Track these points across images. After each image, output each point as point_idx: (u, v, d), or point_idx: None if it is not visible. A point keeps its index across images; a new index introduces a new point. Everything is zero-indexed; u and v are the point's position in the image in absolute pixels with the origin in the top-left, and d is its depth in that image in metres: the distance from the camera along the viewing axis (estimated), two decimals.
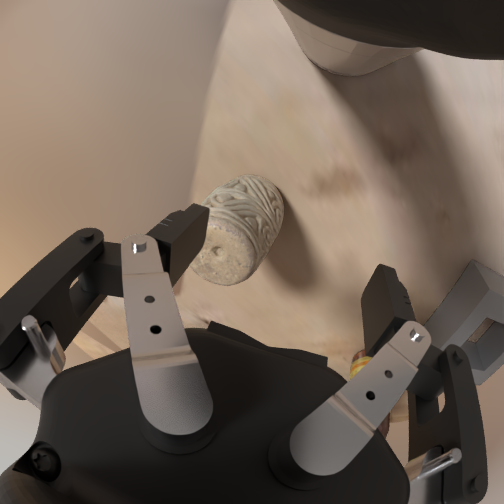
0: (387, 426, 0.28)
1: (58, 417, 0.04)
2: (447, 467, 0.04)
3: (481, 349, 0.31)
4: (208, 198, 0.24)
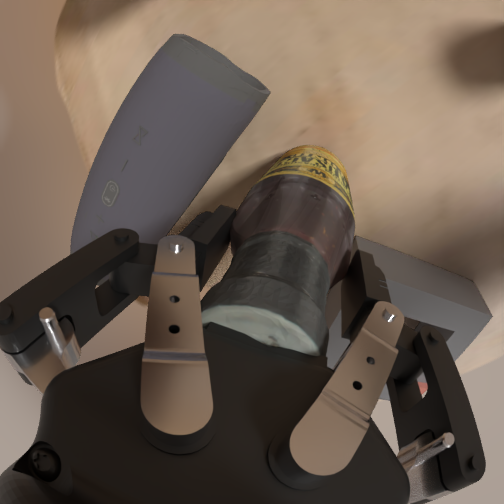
0: None
1: (55, 411, 0.04)
2: (441, 452, 0.04)
3: None
4: None
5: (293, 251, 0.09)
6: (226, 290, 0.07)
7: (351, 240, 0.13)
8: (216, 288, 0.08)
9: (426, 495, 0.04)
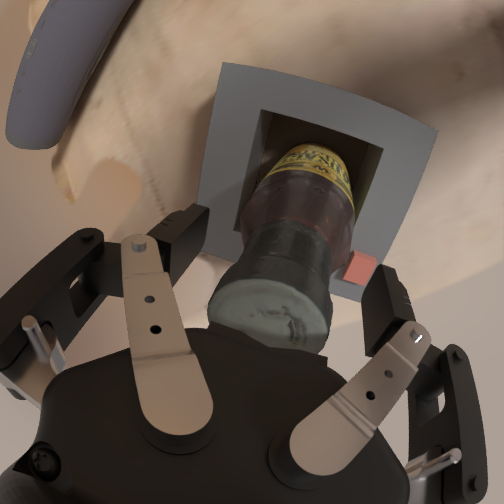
0: None
1: (58, 417, 0.04)
2: (447, 467, 0.04)
3: None
4: None
5: (301, 237, 0.10)
6: (244, 267, 0.08)
7: (351, 230, 0.14)
8: (235, 266, 0.09)
9: None
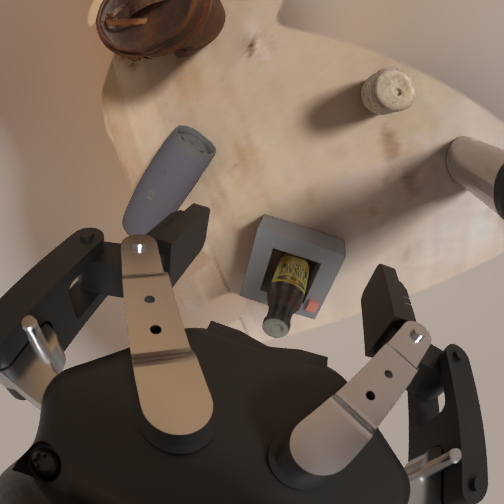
0: None
1: (58, 417, 0.04)
2: (447, 467, 0.04)
3: (267, 279, 0.58)
4: None
5: (284, 306, 0.42)
6: (271, 315, 0.40)
7: (301, 299, 0.46)
8: (269, 315, 0.41)
9: None
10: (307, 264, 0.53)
